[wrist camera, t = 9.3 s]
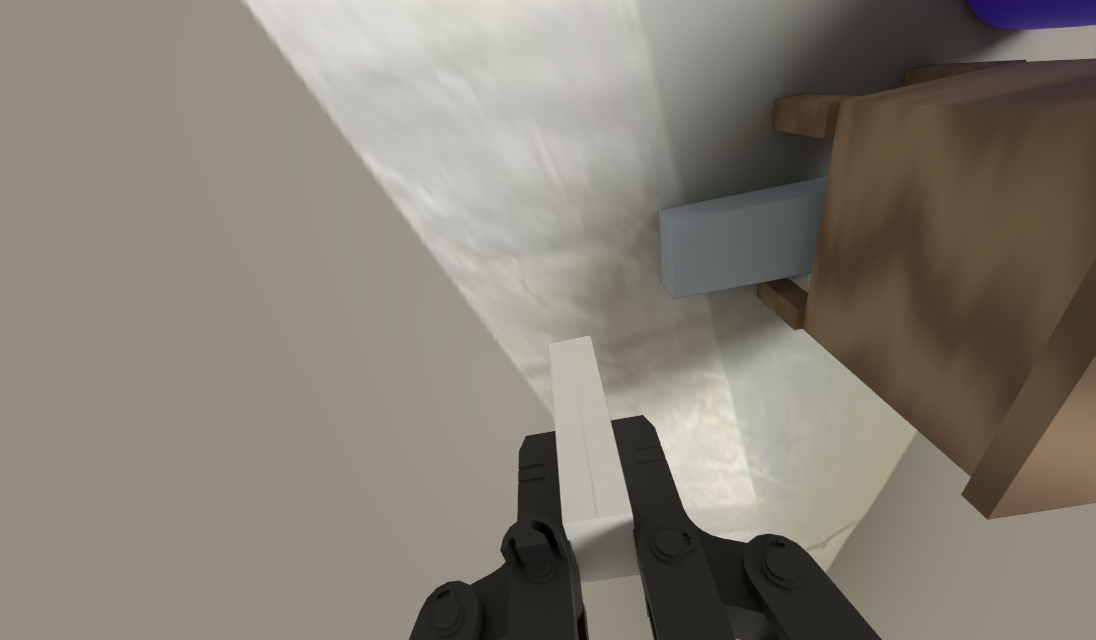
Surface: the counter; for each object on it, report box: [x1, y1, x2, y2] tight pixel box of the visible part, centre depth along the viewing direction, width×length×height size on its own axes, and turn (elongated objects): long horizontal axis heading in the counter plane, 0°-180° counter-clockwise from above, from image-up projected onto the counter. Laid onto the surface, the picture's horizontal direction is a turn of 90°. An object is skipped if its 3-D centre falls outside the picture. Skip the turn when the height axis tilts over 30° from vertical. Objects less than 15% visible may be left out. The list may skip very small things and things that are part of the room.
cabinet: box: [757, 59, 1096, 519], centre depth 18 cm, size 14×8×16 cm, turn 11°
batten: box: [658, 176, 828, 299], centre depth 24 cm, size 5×15×3 cm, turn 101°
